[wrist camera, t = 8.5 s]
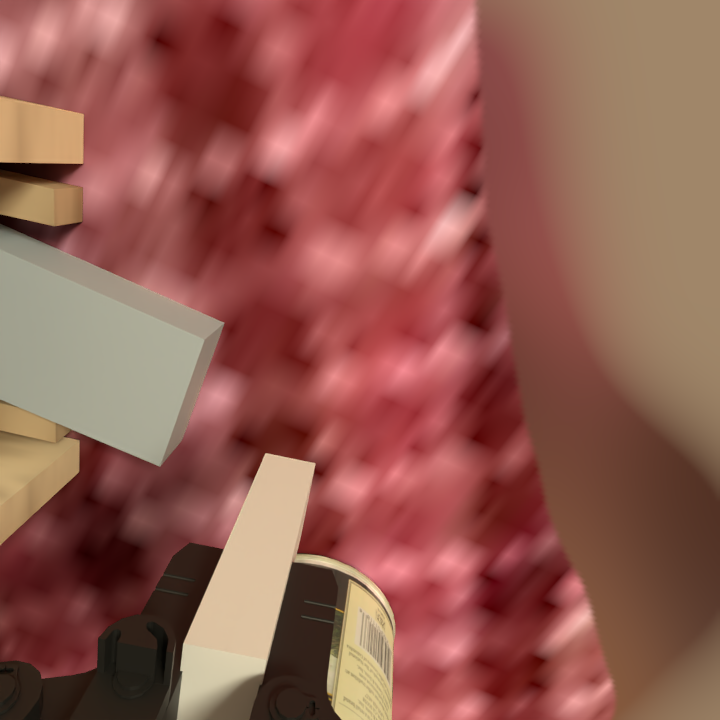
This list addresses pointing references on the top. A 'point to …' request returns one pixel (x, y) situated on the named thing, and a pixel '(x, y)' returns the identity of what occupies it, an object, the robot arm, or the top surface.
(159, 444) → the grey flat block
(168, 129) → the top surface
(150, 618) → the robot arm
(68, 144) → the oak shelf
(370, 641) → the coffee can
